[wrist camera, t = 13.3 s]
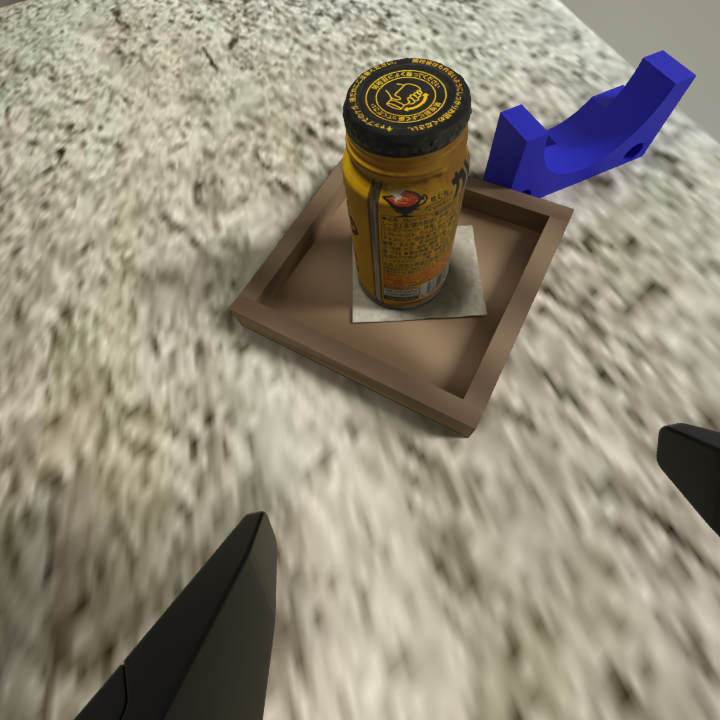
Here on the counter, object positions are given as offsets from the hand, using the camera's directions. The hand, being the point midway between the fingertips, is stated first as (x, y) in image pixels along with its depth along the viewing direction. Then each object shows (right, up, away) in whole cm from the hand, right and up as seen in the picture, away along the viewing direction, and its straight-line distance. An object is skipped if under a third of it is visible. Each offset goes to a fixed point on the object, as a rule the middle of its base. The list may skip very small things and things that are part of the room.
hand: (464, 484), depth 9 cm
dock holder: (+1, +8, +18) cm, 20 cm away
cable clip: (+13, +18, +22) cm, 31 cm away
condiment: (+1, +9, +18) cm, 20 cm away
